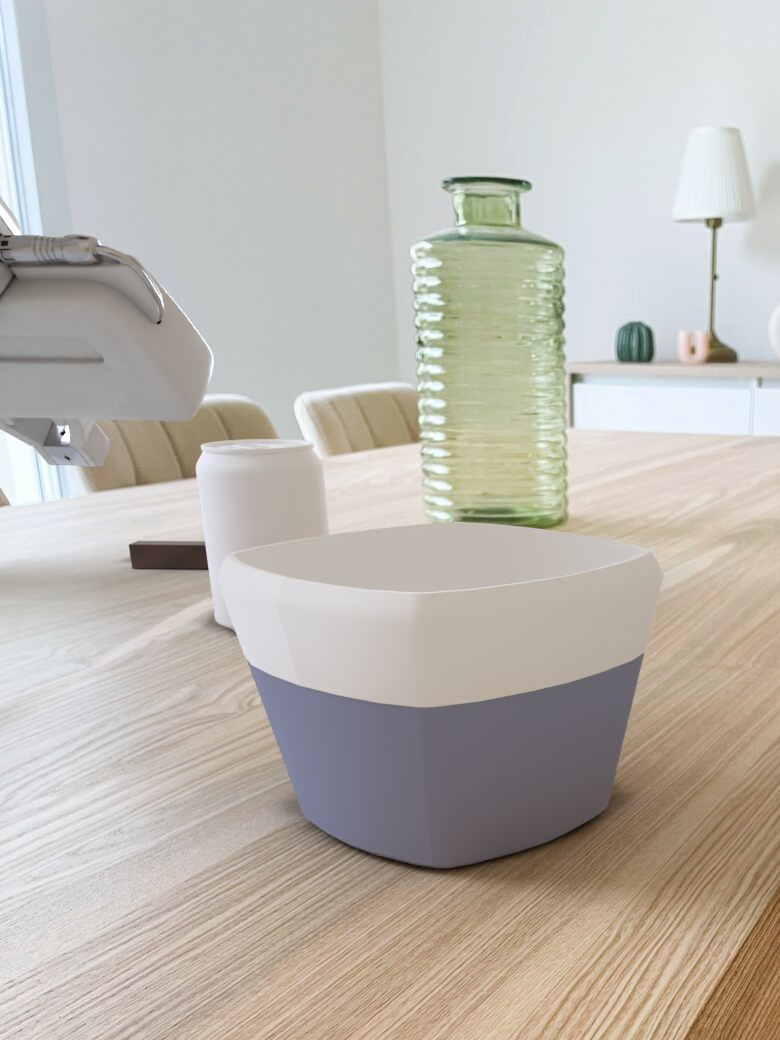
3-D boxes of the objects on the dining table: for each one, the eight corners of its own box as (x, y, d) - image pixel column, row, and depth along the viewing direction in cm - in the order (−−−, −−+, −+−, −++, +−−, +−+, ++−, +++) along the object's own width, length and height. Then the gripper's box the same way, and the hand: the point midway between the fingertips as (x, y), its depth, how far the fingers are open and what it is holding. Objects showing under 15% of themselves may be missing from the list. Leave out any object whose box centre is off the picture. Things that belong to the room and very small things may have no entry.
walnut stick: (131, 568, 110) (128, 544, 109) (141, 564, 112) (137, 540, 111) (271, 569, 109) (269, 545, 108) (279, 565, 111) (276, 542, 110)
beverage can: (245, 644, 84) (222, 452, 80) (197, 623, 90) (173, 442, 85) (358, 627, 89) (342, 444, 84) (305, 608, 95) (288, 436, 90)
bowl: (708, 809, 56) (713, 550, 52) (431, 922, 46) (409, 608, 42) (474, 738, 66) (462, 513, 62) (200, 818, 55) (162, 554, 51)
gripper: (144, 181, 55) (279, 412, 67) (-263, 188, 59) (-63, 404, 71) (98, 296, 52) (247, 512, 65) (-322, 295, 56) (-105, 498, 69)
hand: (82, 456), depth 68 cm, fingers closed
